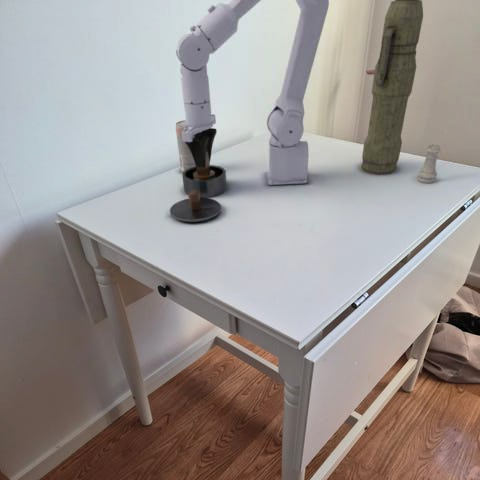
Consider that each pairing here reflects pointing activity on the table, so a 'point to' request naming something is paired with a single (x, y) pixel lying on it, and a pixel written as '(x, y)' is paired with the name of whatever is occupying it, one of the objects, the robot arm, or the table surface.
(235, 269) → the table surface
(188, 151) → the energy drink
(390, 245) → the table surface
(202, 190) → the tin
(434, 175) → the rook chess piece
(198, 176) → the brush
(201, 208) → the tin lid
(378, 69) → the green robed figurine
